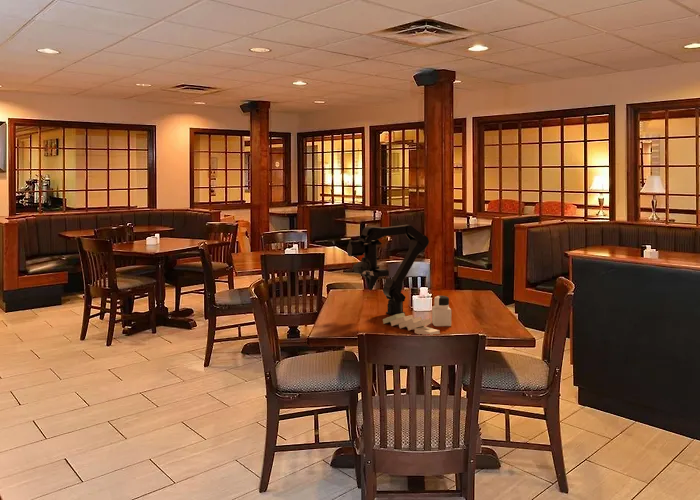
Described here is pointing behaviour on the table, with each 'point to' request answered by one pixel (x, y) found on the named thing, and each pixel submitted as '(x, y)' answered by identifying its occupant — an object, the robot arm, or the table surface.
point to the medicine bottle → (441, 311)
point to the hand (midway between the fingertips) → (370, 289)
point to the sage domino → (393, 318)
